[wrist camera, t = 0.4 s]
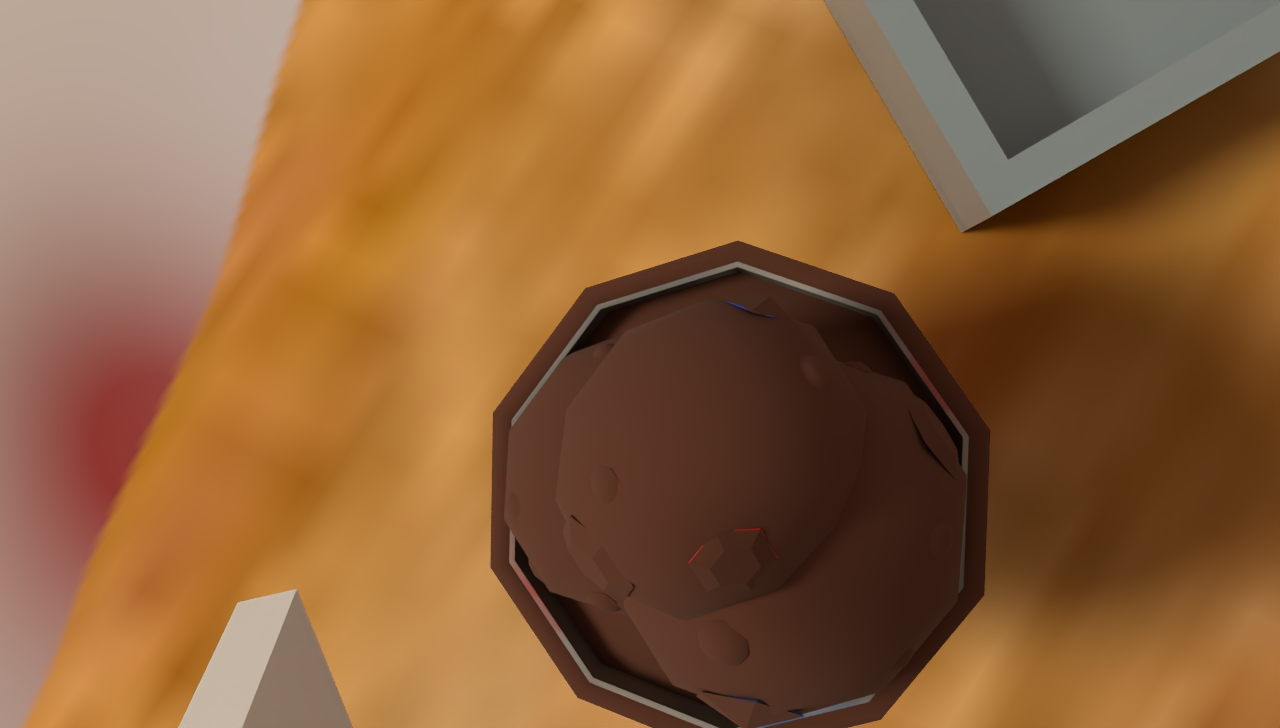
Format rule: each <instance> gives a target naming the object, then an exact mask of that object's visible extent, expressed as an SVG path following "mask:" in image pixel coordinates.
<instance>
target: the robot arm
mask: <svg viewBox="0 0 1280 728" xmlns="http://www.w3.org/2000/svg"><path fill="white" fill-rule="evenodd" d="M178 728H353V727H352V724H351V722H350V719H349V717H348V714H347V712H346V709H345V707H344V704H343V702H342V700H341V697H340V695H339V692H338V690H337V687H336V685H335V682H334V680H333V677H332V675H331V672H330V670H329V667H328V665H327V662H326V660H325V658H324V655H323V653H322V650H321V648H320V645H319V643H318V640H317V638H316V635H315V633H314V630H313V628H312V625H311V623H310V621H309V618H308V616H307V613H306V611H305V608H304V606H303V603H302V601H301V598H300V596H299V593H298V591H297V589H294V590H290V591H286V592H281V593H277V594H273V595H268V596H264V597H260V598H255V599H251V600H246V601H242V602H238V603H237V605H236V607H235V609H234V611H233V614H232V616H231V618H230V620H229V622H228V624H227V626H226V628H225V630H224V633H223V635H222V637H221V639H220V641H219V643H218V645H217V647H216V649H215V652H214V654H213V656H212V658H211V660H210V662H209V664H208V666H207V668H206V670H205V673H204V675H203V677H202V679H201V681H200V683H199V685H198V687H197V689H196V692H195V694H194V696H193V698H192V700H191V702H190V704H189V706H188V708H187V711H186V713H185V715H184V717H183V719H182V721H181V723H180V725H179V727H178Z"/></svg>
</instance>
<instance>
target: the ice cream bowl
mask: <svg viewBox="0 0 1280 728" xmlns="http://www.w3.org/2000/svg"><path fill="white" fill-rule="evenodd" d="M989 445H990V430H989V428H988V427H987V425H986V424H985V422H984V421H983V420H982V418H981V417H980V415H979V414H978V412H977V411H976V410H975V408H974V407H973V405H972V404H971V403H970V401H969V400H968V398H967V397H966V395H965V394H964V393H963V391H962V390H961V388H960V387H959V385H958V384H957V383H956V381H955V380H954V378H953V377H952V375H951V374H950V373H949V371H948V370H947V368H946V367H945V365H944V364H943V363H942V361H941V360H940V358H939V357H938V355H937V354H936V353H935V351H934V350H933V348H932V347H931V345H930V344H929V343H928V341H927V340H926V338H925V337H924V335H923V334H922V333H921V331H920V330H919V328H918V327H917V326H916V324H915V323H914V321H913V320H912V318H911V317H910V316H909V314H908V313H907V311H906V310H905V308H904V307H903V306H902V304H901V303H900V301H899V300H898V298H897V297H896V296H895V294H894V293H891V292H888V291H885V290H882V289H879V288H876V287H873V286H870V285H867V284H864V283H861V282H858V281H855V280H852V279H849V278H846V277H844V276H841V275H838V274H835V273H832V272H829V271H826V270H823V269H820V268H817V267H814V266H811V265H808V264H805V263H802V262H799V261H796V260H793V259H790V258H788V257H785V256H782V255H779V254H776V253H773V252H770V251H767V250H764V249H761V248H758V247H755V246H752V245H749V244H746V243H743V242H740V241H735V242H732V243H729V244H726V245H723V246H719V247H716V248H713V249H710V250H707V251H703V252H700V253H697V254H694V255H691V256H687V257H684V258H681V259H678V260H674V261H671V262H668V263H665V264H662V265H658V266H655V267H652V268H649V269H646V270H642V271H639V272H636V273H633V274H630V275H626V276H623V277H620V278H617V279H613V280H610V281H607V282H604V283H601V284H597V285H594V286H591V287H588V288H585V290H584V291H583V292H582V294H581V295H580V296H579V298H578V299H577V300H576V302H575V303H574V304H573V306H572V307H571V309H570V310H569V311H568V313H567V314H566V315H565V317H564V318H563V319H562V321H561V322H560V323H559V325H558V326H557V327H556V329H555V330H554V331H553V333H552V334H551V335H550V337H549V338H548V340H547V341H546V342H545V344H544V345H543V346H542V348H541V349H540V350H539V352H538V353H537V354H536V356H535V357H534V358H533V360H532V361H531V362H530V364H529V365H528V367H527V368H526V369H525V371H524V372H523V373H522V375H521V376H520V377H519V379H518V380H517V381H516V383H515V384H514V385H513V387H512V388H511V389H510V391H509V392H508V394H507V395H506V396H505V398H504V399H503V400H502V402H501V403H500V404H499V406H498V407H497V408H496V410H495V411H494V412H493V449H492V512H491V569H492V570H493V572H494V573H495V575H496V576H497V578H498V579H499V581H500V582H501V584H502V585H503V587H504V588H505V590H506V591H507V593H508V594H509V596H510V597H511V599H512V600H513V602H514V603H515V605H516V606H517V608H518V609H519V611H520V612H521V614H522V615H523V617H524V618H525V620H526V621H527V623H528V624H529V626H530V627H531V629H532V630H533V632H534V633H535V635H536V636H537V638H538V639H539V641H540V642H541V644H542V645H543V647H544V648H545V650H546V651H547V653H548V654H549V656H550V657H551V659H552V660H553V662H554V663H555V665H556V666H557V668H558V669H559V671H560V672H561V674H562V675H563V676H564V678H565V679H566V681H567V682H568V684H569V685H570V687H571V688H572V690H573V691H574V693H575V694H576V696H577V697H578V698H580V699H582V700H585V701H587V702H590V703H592V704H595V705H597V706H600V707H602V708H605V709H607V710H610V711H612V712H615V713H617V714H620V715H622V716H625V717H627V718H630V719H632V720H635V721H637V722H640V723H642V724H645V725H647V726H650V727H652V728H848V727H852V726H856V725H860V724H865V723H869V722H873V721H877V720H881V719H882V718H883V716H884V715H885V714H886V713H887V712H888V710H889V709H890V708H891V707H892V705H893V704H894V703H895V702H896V701H897V699H898V698H899V697H900V696H901V695H902V693H903V692H904V691H905V690H906V689H907V687H908V686H909V685H910V684H911V683H912V681H913V680H914V679H915V678H916V677H917V675H918V674H919V673H920V672H921V671H922V669H923V668H924V667H925V666H926V665H927V663H928V662H929V661H930V660H931V659H932V657H933V656H934V655H935V654H936V652H937V651H938V650H939V649H940V648H941V646H942V645H943V644H944V643H945V642H946V640H947V639H948V638H949V637H950V636H951V634H952V633H953V632H954V631H955V630H956V628H957V627H958V626H959V625H960V624H961V622H962V621H963V620H964V619H965V618H966V616H967V615H968V614H969V613H970V612H971V610H972V609H973V608H974V607H975V606H976V604H977V603H978V602H979V601H980V600H981V598H982V597H983V596H984V586H985V558H986V529H987V501H988V473H989Z"/></svg>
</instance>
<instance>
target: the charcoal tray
mask: <svg viewBox="0 0 1280 728" xmlns="http://www.w3.org/2000/svg"><path fill="white" fill-rule="evenodd" d="M824 2H825V3H826V5H827V7H828V8H829V10H830V12H831V13H832V15H833V17H834V19H835V20H836V22H837V24H838V25H839V27H840V29H841V30H842V32H843V34H844V35H845V37H846V39H847V41H848V42H849V44H850V46H851V47H852V49H853V51H854V52H855V54H856V56H857V57H858V59H859V61H860V63H861V64H862V66H863V68H864V69H865V71H866V73H867V74H868V76H869V78H870V79H871V81H872V83H873V85H874V86H875V88H876V90H877V91H878V93H879V95H880V96H881V98H882V100H883V101H884V103H885V105H886V107H887V108H888V110H889V112H890V113H891V115H892V117H893V118H894V120H895V122H896V124H897V125H898V127H899V129H900V130H901V132H902V134H903V135H904V137H905V139H906V140H907V142H908V144H909V146H910V147H911V149H912V151H913V152H914V154H915V156H916V157H917V159H918V161H919V162H920V164H921V166H922V168H923V169H924V171H925V173H926V174H927V176H928V178H929V179H930V181H931V183H932V184H933V186H934V188H935V190H936V191H937V193H938V195H939V196H940V198H941V200H942V201H943V203H944V205H945V206H946V208H947V210H948V212H949V213H950V215H951V217H952V218H953V220H954V222H955V223H956V225H957V227H958V228H959V230H960V232H961V233H962V232H964V231H966V230H968V229H969V228H971V227H973V226H975V225H977V224H979V223H981V222H982V221H984V220H986V219H988V218H990V217H992V216H993V215H995V214H997V213H999V212H1000V211H1002V210H1004V209H1006V208H1007V207H1009V206H1011V205H1013V204H1014V203H1016V202H1018V201H1020V200H1021V199H1023V198H1025V197H1027V196H1028V195H1030V194H1032V193H1034V192H1035V191H1037V190H1039V189H1040V188H1042V187H1044V186H1046V185H1047V184H1049V183H1051V182H1053V181H1054V180H1056V179H1058V178H1060V177H1061V176H1063V175H1065V174H1067V173H1068V172H1070V171H1072V170H1074V169H1075V168H1077V167H1079V166H1081V165H1082V164H1084V163H1086V162H1088V161H1089V160H1091V159H1093V158H1095V157H1096V156H1098V155H1100V154H1102V153H1103V152H1105V151H1107V150H1109V149H1110V148H1112V147H1114V146H1115V145H1117V144H1119V143H1121V142H1122V141H1124V140H1126V139H1128V138H1129V137H1131V136H1133V135H1135V134H1136V133H1138V132H1140V131H1142V130H1143V129H1145V128H1147V127H1149V126H1150V125H1152V124H1154V123H1156V122H1157V121H1159V120H1161V119H1163V118H1164V117H1166V116H1168V115H1170V114H1171V113H1173V112H1175V111H1177V110H1178V109H1180V108H1182V107H1184V106H1185V105H1187V104H1189V103H1191V102H1192V101H1194V100H1196V99H1197V98H1199V97H1201V96H1203V95H1204V94H1206V93H1208V92H1210V91H1211V90H1213V89H1215V88H1217V87H1218V86H1220V85H1222V84H1224V83H1225V82H1227V81H1229V80H1231V79H1232V78H1234V77H1236V76H1238V75H1239V74H1241V73H1243V72H1245V71H1246V70H1248V69H1250V68H1252V67H1253V66H1255V65H1257V64H1259V63H1260V62H1262V61H1264V60H1266V59H1267V58H1269V57H1271V56H1272V55H1274V54H1276V53H1278V52H1279V51H1280V0H824Z"/></svg>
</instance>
